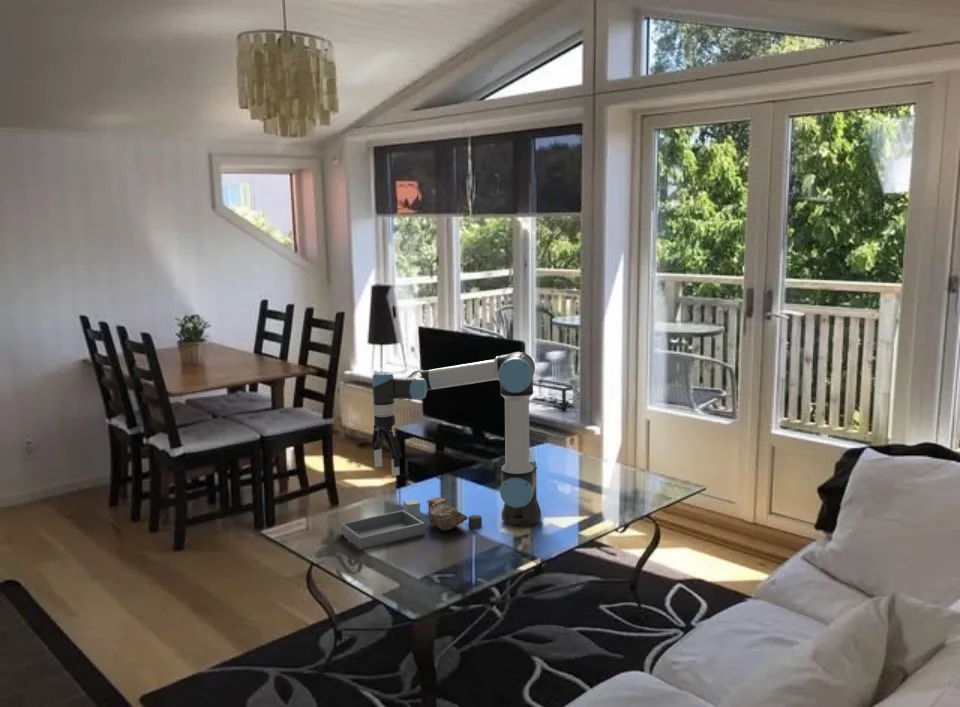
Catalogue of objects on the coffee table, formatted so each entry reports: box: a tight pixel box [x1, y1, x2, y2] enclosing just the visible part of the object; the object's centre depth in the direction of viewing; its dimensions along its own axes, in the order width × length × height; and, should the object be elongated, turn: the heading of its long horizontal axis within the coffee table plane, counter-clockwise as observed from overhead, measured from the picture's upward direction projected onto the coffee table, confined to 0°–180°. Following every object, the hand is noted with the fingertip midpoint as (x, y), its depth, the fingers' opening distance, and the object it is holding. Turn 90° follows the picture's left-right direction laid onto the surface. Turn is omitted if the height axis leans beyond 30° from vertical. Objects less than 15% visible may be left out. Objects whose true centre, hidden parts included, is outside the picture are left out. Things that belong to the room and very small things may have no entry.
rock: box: [428, 502, 469, 532], centre depth 303 cm, size 18×10×10 cm, turn 43°
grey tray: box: [340, 509, 426, 551], centre depth 297 cm, size 17×26×4 cm, turn 123°
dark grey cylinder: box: [468, 514, 483, 530], centre depth 303 cm, size 5×5×4 cm
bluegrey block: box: [403, 498, 421, 519], centre depth 316 cm, size 5×5×6 cm
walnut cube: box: [427, 496, 447, 509], centre depth 321 cm, size 5×5×5 cm
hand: (387, 470), depth 296 cm, fingers open, 13 cm apart
